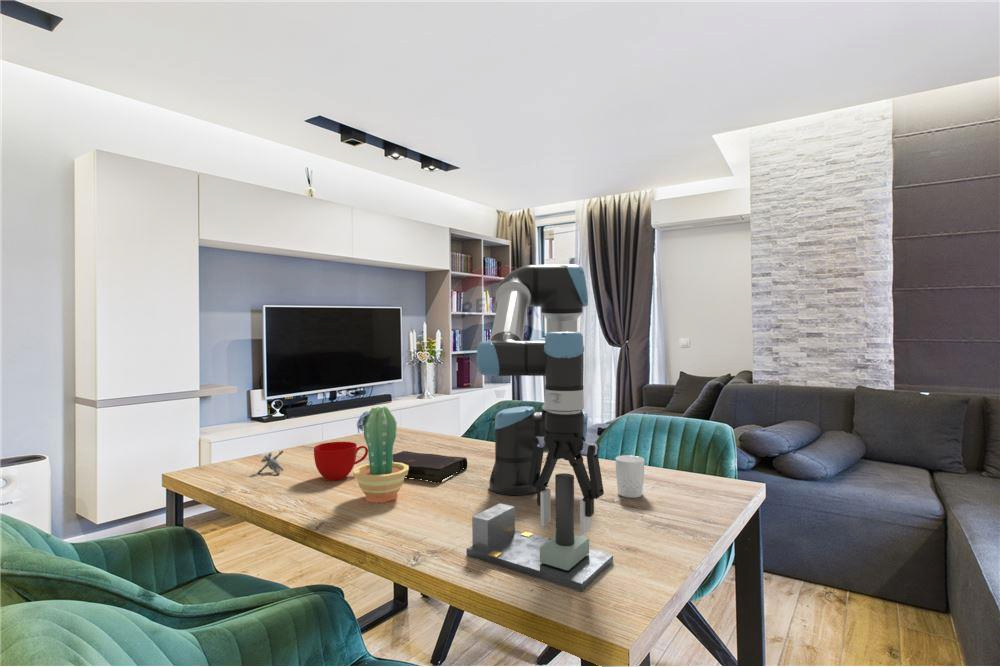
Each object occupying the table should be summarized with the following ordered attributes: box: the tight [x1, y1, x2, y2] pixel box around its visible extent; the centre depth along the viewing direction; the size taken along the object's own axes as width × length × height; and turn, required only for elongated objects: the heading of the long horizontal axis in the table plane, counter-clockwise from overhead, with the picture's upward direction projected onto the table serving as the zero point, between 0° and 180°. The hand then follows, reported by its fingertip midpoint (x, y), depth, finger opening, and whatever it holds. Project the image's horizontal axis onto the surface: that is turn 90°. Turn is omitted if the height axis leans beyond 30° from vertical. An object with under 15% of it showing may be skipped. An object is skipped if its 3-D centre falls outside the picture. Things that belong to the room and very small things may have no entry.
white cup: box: [615, 454, 645, 499], centre depth 146 cm, size 8×8×10 cm
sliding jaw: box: [540, 472, 590, 570], centre depth 101 cm, size 6×9×16 cm, turn 145°
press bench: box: [465, 503, 614, 593], centre depth 105 cm, size 26×14×8 cm, turn 55°
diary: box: [393, 450, 468, 484], centre depth 170 cm, size 19×25×5 cm
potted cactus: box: [352, 406, 409, 504], centre depth 144 cm, size 15×15×25 cm
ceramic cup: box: [313, 441, 369, 481], centre depth 165 cm, size 13×17×10 cm
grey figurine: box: [257, 450, 284, 476], centre depth 170 cm, size 10×6×9 cm
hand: (564, 527), depth 101 cm, fingers open, 8 cm apart
